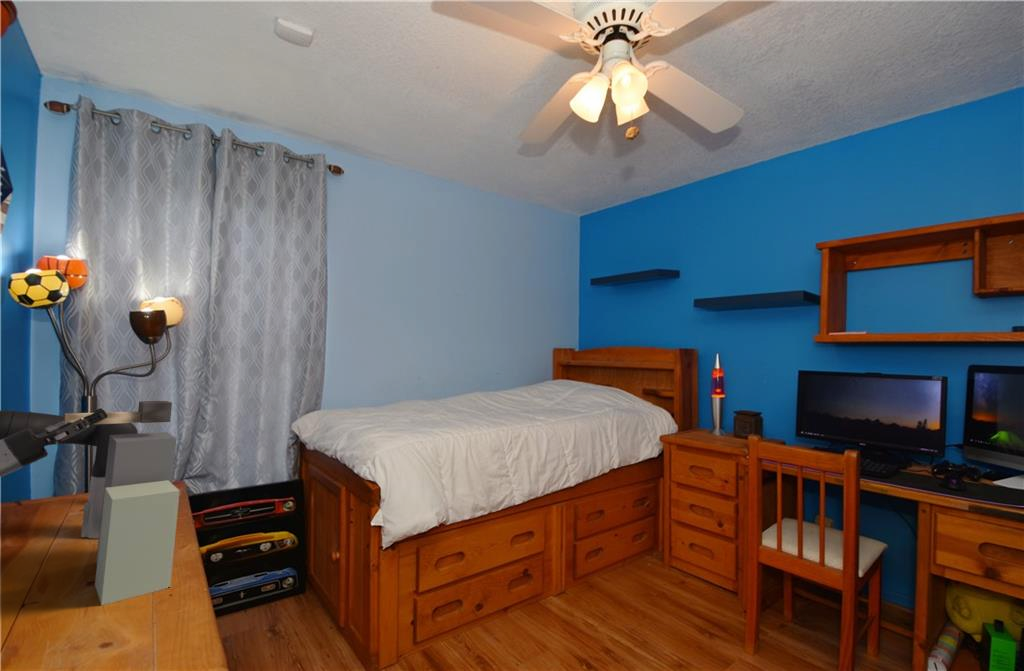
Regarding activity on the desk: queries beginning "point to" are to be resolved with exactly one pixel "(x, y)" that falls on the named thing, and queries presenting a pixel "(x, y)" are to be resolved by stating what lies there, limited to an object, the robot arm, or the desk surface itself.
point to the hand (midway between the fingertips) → (104, 412)
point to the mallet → (133, 414)
